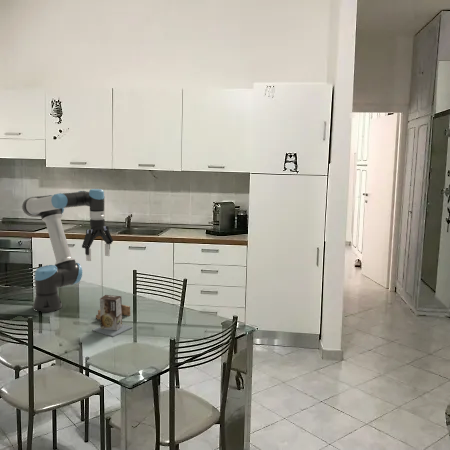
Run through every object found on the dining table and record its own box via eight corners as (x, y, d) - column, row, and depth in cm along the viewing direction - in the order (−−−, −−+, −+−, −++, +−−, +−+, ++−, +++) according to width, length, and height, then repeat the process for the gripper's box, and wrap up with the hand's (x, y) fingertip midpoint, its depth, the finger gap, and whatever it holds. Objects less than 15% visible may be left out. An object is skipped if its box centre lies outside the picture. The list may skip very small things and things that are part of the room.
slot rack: (96, 318, 270) (95, 309, 269) (114, 311, 282) (114, 302, 281) (112, 323, 264) (112, 314, 263) (130, 315, 276) (130, 306, 275)
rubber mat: (92, 330, 254) (92, 329, 254) (112, 322, 265) (112, 321, 265) (113, 336, 247) (113, 335, 246) (132, 327, 258) (132, 326, 258)
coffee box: (122, 326, 259) (122, 296, 256) (116, 331, 252) (116, 299, 250) (106, 324, 261) (105, 294, 258) (100, 329, 255) (99, 298, 252)
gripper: (84, 222, 254) (85, 263, 257) (119, 216, 275) (119, 254, 278) (73, 221, 258) (75, 261, 261) (108, 215, 279) (109, 252, 282)
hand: (98, 258), depth 270 cm, fingers open, 13 cm apart
